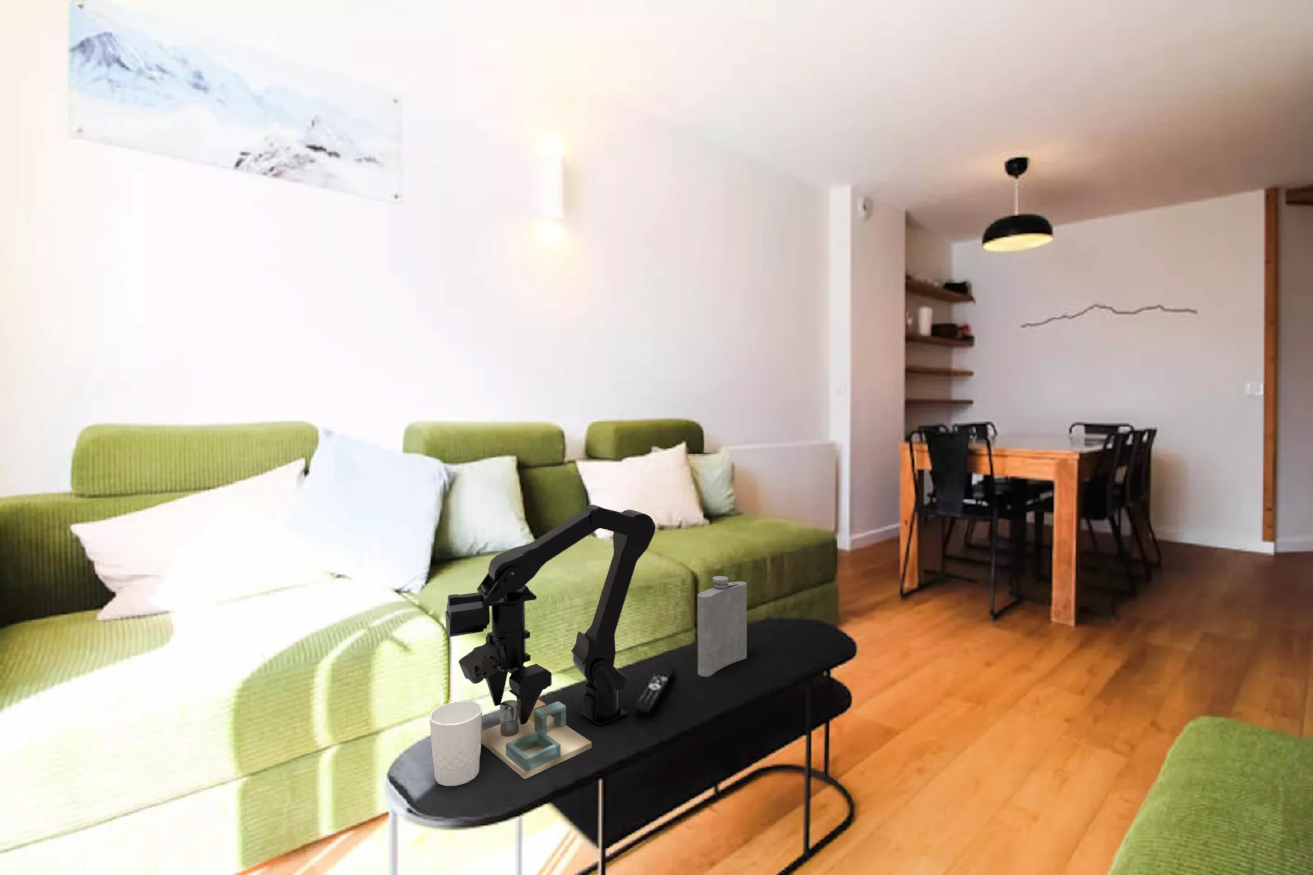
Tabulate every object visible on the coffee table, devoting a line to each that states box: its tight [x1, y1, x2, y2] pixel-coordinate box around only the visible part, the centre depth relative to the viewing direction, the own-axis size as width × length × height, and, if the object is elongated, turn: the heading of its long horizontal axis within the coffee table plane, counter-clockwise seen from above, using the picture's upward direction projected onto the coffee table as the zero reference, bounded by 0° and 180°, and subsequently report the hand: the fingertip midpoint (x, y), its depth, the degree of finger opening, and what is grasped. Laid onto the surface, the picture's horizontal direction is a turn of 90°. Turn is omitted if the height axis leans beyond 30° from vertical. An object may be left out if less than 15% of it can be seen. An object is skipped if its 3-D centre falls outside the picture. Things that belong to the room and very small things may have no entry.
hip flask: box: [697, 575, 748, 678], centre depth 137 cm, size 16×4×20 cm, turn 136°
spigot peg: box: [499, 699, 519, 737], centre depth 106 cm, size 3×3×5 cm
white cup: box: [429, 700, 483, 787], centre depth 95 cm, size 8×8×10 cm
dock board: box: [481, 700, 593, 780], centre depth 104 cm, size 13×16×5 cm
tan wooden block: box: [529, 699, 547, 722], centre depth 111 cm, size 2×4×3 cm, turn 43°
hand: (510, 714), depth 106 cm, fingers open, 9 cm apart
